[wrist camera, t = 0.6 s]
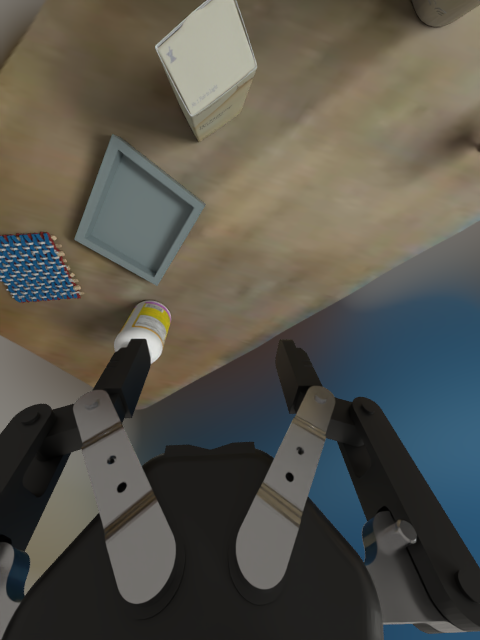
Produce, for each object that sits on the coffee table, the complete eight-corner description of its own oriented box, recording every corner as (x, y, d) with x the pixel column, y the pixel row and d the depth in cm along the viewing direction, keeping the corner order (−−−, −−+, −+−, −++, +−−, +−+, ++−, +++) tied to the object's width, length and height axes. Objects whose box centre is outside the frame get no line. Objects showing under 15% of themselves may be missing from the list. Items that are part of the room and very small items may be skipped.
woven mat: (24, 300, 37) (14, 306, 35) (-20, 234, 31) (-34, 237, 29) (88, 295, 37) (82, 301, 36) (57, 229, 31) (48, 232, 30)
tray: (120, 137, 26) (112, 133, 24) (205, 204, 31) (204, 205, 29) (83, 235, 32) (74, 239, 30) (160, 279, 36) (157, 285, 34)
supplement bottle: (145, 333, 42) (121, 386, 31) (126, 305, 38) (91, 354, 28) (178, 323, 41) (165, 374, 31) (161, 294, 38) (140, 339, 27)
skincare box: (198, 143, 27) (189, 123, 17) (176, 99, 25) (150, 46, 15) (242, 111, 26) (260, 69, 16) (223, 62, 24) (229, -23, 14)
